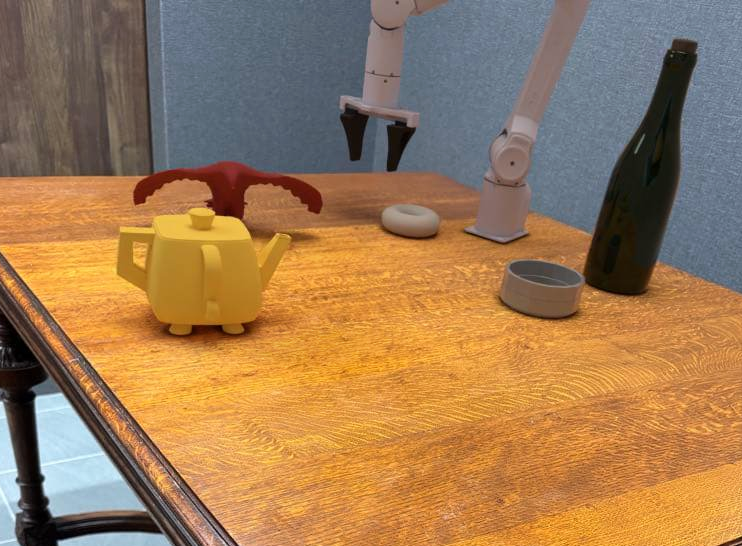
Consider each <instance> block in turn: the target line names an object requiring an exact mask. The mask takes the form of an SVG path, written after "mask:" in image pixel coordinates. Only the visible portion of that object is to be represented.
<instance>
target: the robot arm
mask: <svg viewBox="0 0 742 546" xmlns="http://www.w3.org/2000/svg"><path fill="white" fill-rule="evenodd" d="M452 1H453V0H370V12H371V15H372V18H371V21H370V24H369V36H368V38H367V45H366V57H365V67H364V77H363V89H362V97H357V96H352V95H340V98H339V110H342V111H344V112H342V113H340V115H339V120H340V122H341V124H342V127H343V130H344V133H345V137H346V141H347V147H348V154H349V161H350V162H357V161H358V162H359V161H361V158H362V153H363V144H364V136H365V131H366V127H367V124H368V122H369V119H370V117H373V118H376V119H380V120H383V121H389V122H392V123H391V124H387V125H386V133H387V134H386V135H387V157H386V172H387V173H393V172H397V170H398V168H399V165H400V162H401V159H402V156H403V154H404V152H405V149H406V148H407V145H408V144H409V142H410V140H411V139H412V138H413V136H414V134H415V133H416V131H417V128H419V125H420V119H421V118H420V117H421V113H420V112H416V111H413V110H410V109H407V108H405V107H403V106H400V105H399V95H400V88H401V78H402V68H403V60H404V53H405V52H404V51H405V40H404V36H405V27H406V22H407V20H408V18H409V16H414V17H419V16H422V15H423V14H426V13H428V12H430V11H432V10H435V9H437V8H439V7H441V6H443V5H445V4H448V3H449V2H452ZM590 5H591V0H554V5H553V8H552V10H551V13H550V16H549V19H548V21H547V24H546V26H545V28H544V31H543V33H542V35H541V38H540V41H539V43H538V46H537V48H536V50H535V54H534V56H533V58H532V61H531V63H530V66H529V68H528V71H527V74H526V75H525V77H524V80H523V83H522V86H521V88H520V91H519V93H518V95H517V98H516V101H515V103H514V106H513V108H512V111H511V113H510V114H509V115H508V116H507V119H506V120H505V123H504V125H503V127H502V129H501V131H500V132H499V133H498V134H497V135H496V136H495V137H494V138H493V139H492V141H491V142H490V145H489V146H488V147H489V148H488V159H489V162H490V164H491V166H490V167H489V169H488V170H487V171H486V172H484V175H483V176H484V177H483V181H482V186H481V192H480V197H479V201H478V208H477V213H476V217H475V218H476V219H475V224H473V225H470V226H468V227H465V228H464V232H466V233H470V234H473V235H476V236H479V237H482V238H485V239H487V240H488V239H489V240H492V241H495V242H498V243H502V244H505V243H508V242H511V241H513V240H516V239H518V238H521V237H523V236H527V235H529V231H528V230H526V229H525V226H526V223H527V218H528V213H529V209H530V204H531V200H532V190H531V187H530V184H529V183H528V182H527V181H528V178H527V176H528V174H529V173H530V170H531V169H532V168H531V167H532V162H533V161H532V160H533V159H532V153H533V149H534V147H535V144H536V141H537V136H538V130H539V127H540V123H541V121H542V118H543V117H544V114H545V112H546V110H547V107H548V104H549V103H550V100H551V98H552V95H553V92H554V91H555V88H556V85H557V83H558V81H559V78H560V76H561V74H562V71H563V69H564V66H565V64H566V62H567V60H568V57H569V55H570V52H571V50H572V47H573V45H574V43H575V40H576V37H577V36H578V34H579V32H580V29H581V27H582V24H583V22H584V19H585V17H586V15H587V12H588V10H589V8H590Z"/></svg>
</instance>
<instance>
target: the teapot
mask: <svg viewBox="0 0 742 546" xmlns="http://www.w3.org/2000/svg"><path fill="white" fill-rule="evenodd" d="M118 230H119V231H118V239H117V240H118V242H117V253H116V265H115V271H116V276H118V277H120V278H121V279H123V280H125V281H127V282H128V283H129V284H131V285H133V286H134V287H137V288H138V289H140V290H142V291H143V292H145V296H146V298H147V301H148V304H149V305H150V308H151V310H152V312H153V314H154V316H155V318H156V320H158V321H160V322H162V323H166V324H170V327H169V329H168V331H169V332H170V333H171V334H173V335H178V336H181V335H182V336H184V335H189V334H191V333H192V330H193V326H221V328H222V331H223V332H225V333H227V334H230V335H231V334H232V335H233V334H234V335H237V334H242V333H244V332H245V328H244V326H243V325H242V324H243V323H245V324H246V323H249V322H250V323H251V322H254V321H255V320H256V319H257V317H258V316H259V313H260V311H261V309H262V306H263V293H264V292H265V291H266V289H267V287H268V285H269V284H270V282H271V279H273V278H272V277H273V276H274V274H275V272H276V270H277V269H278V266H279V264H280V263H281V260H282V259H283V257H284V256H285V253H286V251H287V249H288V247H289V245H290V243H291V241H292V237H291V236H290V235H289V234H285V233H281V232H275V235H274V236H273V237H272V239H271V240H270V241H269V242H268V243H267V244H266V245H265V247H264V248H263V249H262V250H261V251H260V252H259V254H258V255H257V254H256V250H255V249H256V248H255V246H254V241H253V239H252V235H251V234H250V232H249V230H248V229H247V227H246V225H245V224H244V222H243V221H242V220H239V219H238V218H235V217H231V216H227V217H226V216H215V212H214V211H212V209H210V208H208V207H207V208H206V207H193V208H190V209H188V211H187V212H185V213H183V214H161V215H156V216H155V217H154V218H153V220H152V223H151V226H150V227H139V226H137V227H136V226H134V227H133V226H119V229H118ZM134 243H141V244H146V247H145V255H144V265H143V266H141V265H140V264H137V263H136V262H134Z"/></svg>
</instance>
